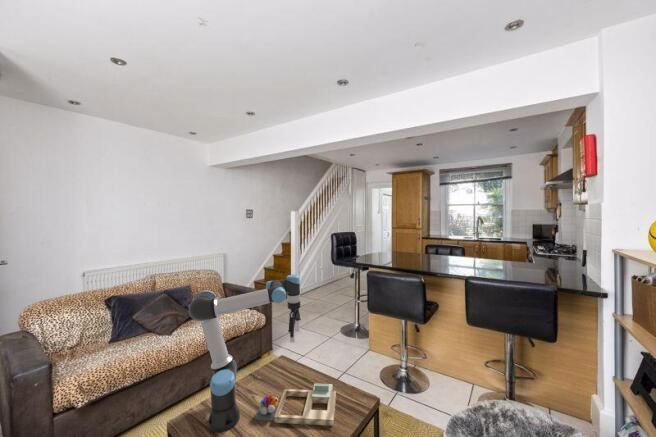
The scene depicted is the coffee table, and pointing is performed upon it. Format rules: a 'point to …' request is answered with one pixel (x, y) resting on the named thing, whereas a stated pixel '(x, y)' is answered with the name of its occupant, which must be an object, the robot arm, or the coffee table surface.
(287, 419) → the board
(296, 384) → the coffee table surface
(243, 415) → the coffee table surface
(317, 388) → the lid
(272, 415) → the mat
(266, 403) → the rainbow toy vehicle
